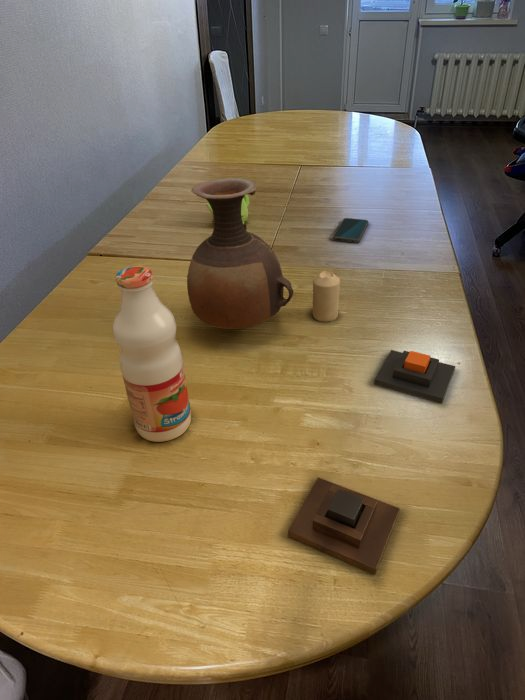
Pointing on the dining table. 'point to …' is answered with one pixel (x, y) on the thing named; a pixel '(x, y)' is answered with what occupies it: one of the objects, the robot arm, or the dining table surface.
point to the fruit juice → (150, 358)
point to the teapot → (243, 208)
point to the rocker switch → (345, 508)
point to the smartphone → (350, 230)
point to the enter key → (417, 362)
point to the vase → (233, 264)
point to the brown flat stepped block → (345, 527)
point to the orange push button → (415, 377)
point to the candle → (325, 296)
